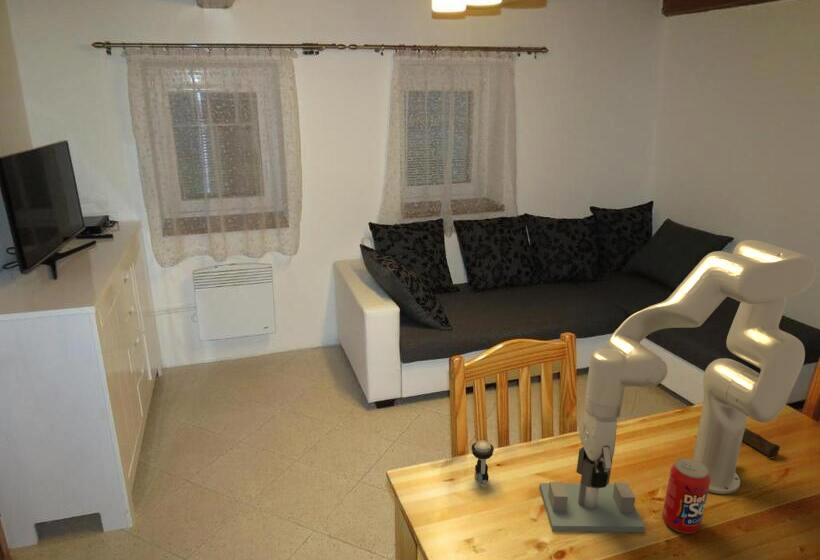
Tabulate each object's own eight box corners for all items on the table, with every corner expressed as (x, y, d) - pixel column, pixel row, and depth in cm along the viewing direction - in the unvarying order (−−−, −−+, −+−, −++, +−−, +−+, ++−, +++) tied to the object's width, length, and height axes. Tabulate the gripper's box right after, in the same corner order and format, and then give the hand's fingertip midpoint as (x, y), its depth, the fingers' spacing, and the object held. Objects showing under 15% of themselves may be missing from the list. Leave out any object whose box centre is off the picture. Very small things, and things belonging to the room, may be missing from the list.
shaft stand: (622, 489, 141) (626, 463, 138) (643, 532, 127) (648, 504, 125) (539, 488, 141) (541, 462, 138) (552, 531, 128) (555, 503, 125)
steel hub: (603, 467, 135) (606, 445, 133) (613, 488, 128) (617, 465, 126) (574, 467, 135) (577, 445, 133) (582, 488, 128) (585, 465, 126)
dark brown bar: (778, 457, 153) (782, 442, 152) (768, 461, 152) (772, 445, 150) (718, 420, 170) (721, 406, 168) (707, 422, 168) (710, 408, 167)
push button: (495, 488, 140) (498, 453, 137) (474, 490, 140) (475, 455, 137) (488, 471, 147) (490, 437, 143) (467, 472, 146) (469, 438, 143)
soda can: (664, 506, 135) (674, 451, 130) (701, 518, 131) (713, 463, 126) (658, 527, 129) (669, 471, 124) (698, 541, 125) (710, 483, 120)
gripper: (574, 384, 133) (566, 450, 139) (597, 428, 117) (586, 500, 123) (607, 385, 133) (598, 451, 139) (634, 428, 117) (622, 501, 123)
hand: (593, 473), depth 131 cm, fingers closed on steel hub, 7 cm apart
